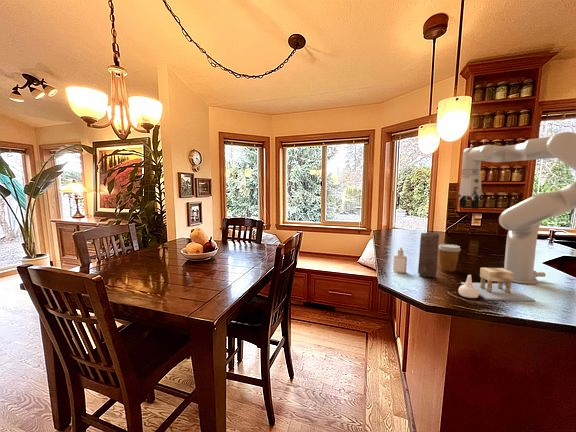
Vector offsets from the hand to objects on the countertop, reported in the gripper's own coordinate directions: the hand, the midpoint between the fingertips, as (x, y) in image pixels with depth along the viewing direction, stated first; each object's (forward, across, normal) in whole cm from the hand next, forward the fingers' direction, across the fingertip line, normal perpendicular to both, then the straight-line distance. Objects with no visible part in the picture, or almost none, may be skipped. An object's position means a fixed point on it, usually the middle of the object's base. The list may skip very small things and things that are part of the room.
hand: (468, 207), depth 127 cm
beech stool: (+30, -34, +8) cm, 46 cm away
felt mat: (+30, -34, +8) cm, 46 cm away
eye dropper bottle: (+31, -12, +36) cm, 49 cm away
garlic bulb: (+31, -38, +20) cm, 53 cm away
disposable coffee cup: (+31, -6, +11) cm, 33 cm away
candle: (+31, -18, +26) cm, 44 cm away
